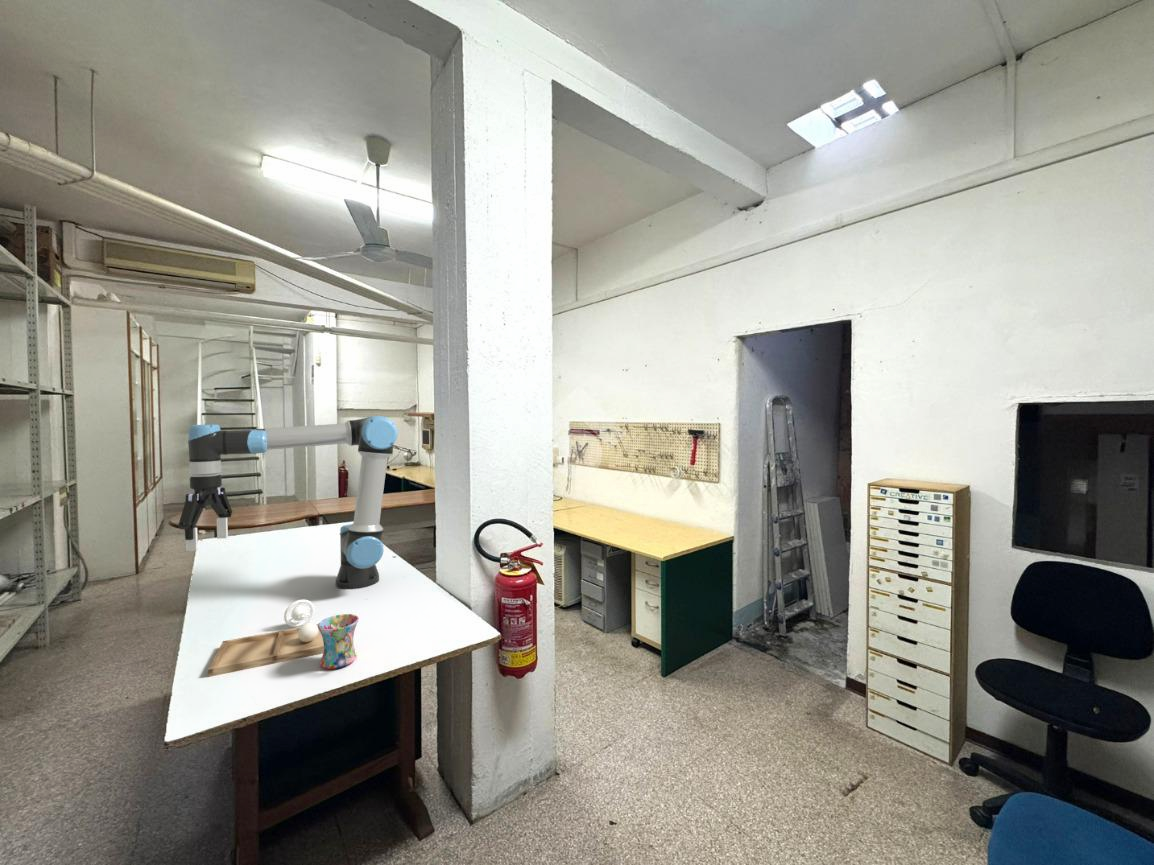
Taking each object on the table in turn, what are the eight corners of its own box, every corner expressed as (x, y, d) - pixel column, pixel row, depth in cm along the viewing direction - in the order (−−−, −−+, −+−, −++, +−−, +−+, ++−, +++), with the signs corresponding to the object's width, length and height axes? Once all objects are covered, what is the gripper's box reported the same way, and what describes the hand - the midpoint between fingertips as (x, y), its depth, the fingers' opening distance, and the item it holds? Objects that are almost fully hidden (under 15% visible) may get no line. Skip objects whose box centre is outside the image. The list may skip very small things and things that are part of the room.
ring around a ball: (312, 620, 141) (312, 594, 141) (318, 626, 137) (317, 600, 137) (282, 628, 135) (282, 602, 135) (287, 634, 131) (286, 607, 131)
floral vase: (312, 663, 116) (311, 622, 115) (349, 649, 123) (348, 610, 123) (332, 680, 108) (331, 636, 108) (370, 664, 115) (370, 623, 115)
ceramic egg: (319, 635, 129) (318, 618, 129) (318, 642, 125) (318, 625, 125) (298, 639, 127) (298, 621, 127) (297, 647, 123) (297, 628, 122)
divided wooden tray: (335, 627, 136) (335, 620, 136) (334, 651, 122) (334, 643, 122) (223, 648, 123) (222, 641, 123) (208, 677, 109) (207, 669, 109)
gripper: (219, 470, 150) (221, 534, 151) (159, 480, 125) (162, 556, 126) (243, 470, 151) (245, 533, 152) (189, 480, 126) (192, 555, 127)
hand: (208, 544), depth 139 cm, fingers open, 13 cm apart
